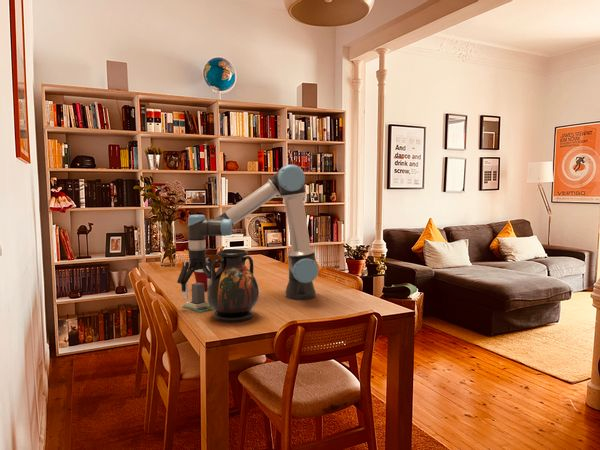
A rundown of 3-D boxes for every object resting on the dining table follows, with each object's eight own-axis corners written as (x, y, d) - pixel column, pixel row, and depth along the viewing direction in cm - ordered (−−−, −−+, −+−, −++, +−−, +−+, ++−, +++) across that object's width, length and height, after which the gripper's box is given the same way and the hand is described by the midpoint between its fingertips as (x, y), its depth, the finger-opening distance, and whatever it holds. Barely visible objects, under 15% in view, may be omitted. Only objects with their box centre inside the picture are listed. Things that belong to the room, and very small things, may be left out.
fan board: (216, 308, 201) (216, 301, 200) (200, 312, 194) (200, 305, 193) (198, 303, 209) (198, 296, 209) (182, 307, 202) (182, 300, 202)
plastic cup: (193, 293, 226) (193, 270, 225) (192, 288, 237) (191, 266, 236) (215, 292, 230) (214, 269, 228) (213, 287, 240) (212, 265, 239)
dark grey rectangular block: (204, 305, 203) (204, 283, 202) (197, 307, 200) (197, 285, 199) (198, 303, 206) (197, 282, 205) (191, 305, 203) (190, 283, 202)
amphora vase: (221, 329, 172) (220, 257, 169) (199, 315, 189) (197, 250, 187) (269, 319, 185) (268, 252, 182) (243, 307, 202) (243, 246, 199)
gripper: (213, 245, 212) (214, 289, 214) (168, 251, 193) (169, 299, 195) (224, 246, 207) (224, 291, 209) (178, 253, 188) (179, 302, 190)
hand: (198, 295), depth 202 cm, fingers open, 13 cm apart
